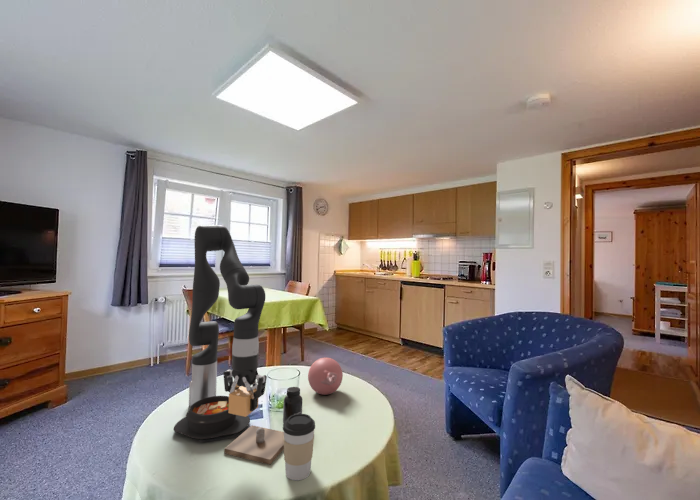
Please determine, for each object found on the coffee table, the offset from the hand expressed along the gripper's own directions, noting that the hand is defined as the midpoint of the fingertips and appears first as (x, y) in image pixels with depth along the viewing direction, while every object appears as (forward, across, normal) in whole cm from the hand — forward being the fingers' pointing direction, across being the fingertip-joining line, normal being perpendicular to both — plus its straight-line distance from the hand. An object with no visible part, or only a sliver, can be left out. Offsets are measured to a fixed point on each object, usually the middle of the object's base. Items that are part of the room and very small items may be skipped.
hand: (243, 407), depth 93 cm
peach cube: (+1, 0, 0) cm, 1 cm away
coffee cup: (+15, +18, +1) cm, 24 cm away
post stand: (+15, +1, +7) cm, 17 cm away
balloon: (+16, +6, +48) cm, 51 cm away
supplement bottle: (+15, +4, +23) cm, 28 cm away
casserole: (+16, -20, +10) cm, 27 cm away
